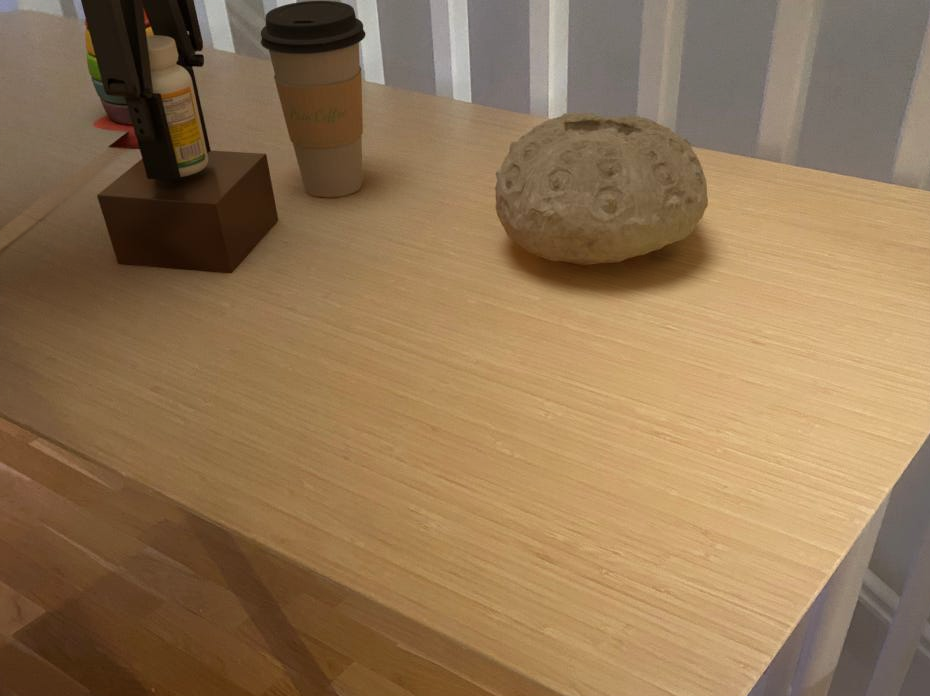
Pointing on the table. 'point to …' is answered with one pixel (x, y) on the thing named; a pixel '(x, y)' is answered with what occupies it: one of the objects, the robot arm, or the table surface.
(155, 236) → the block
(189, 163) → the supplement bottle
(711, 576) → the table surface
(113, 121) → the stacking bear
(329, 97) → the coffee cup
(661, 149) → the decorative shell
